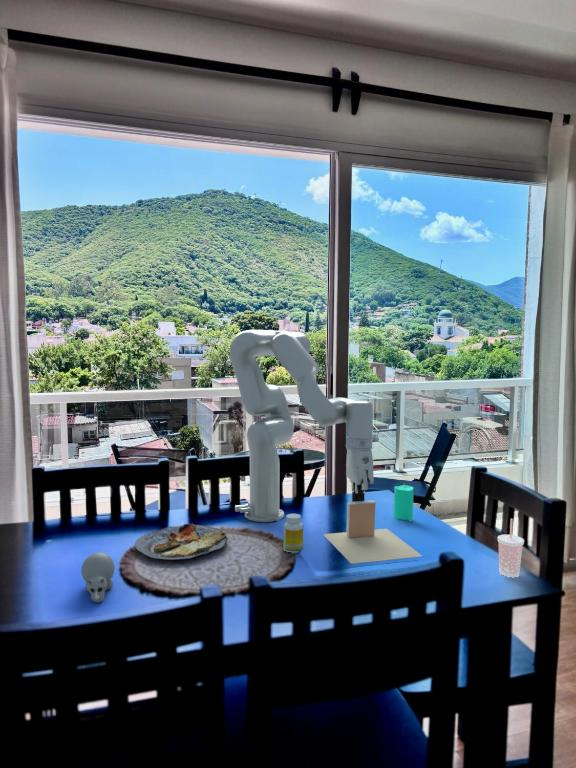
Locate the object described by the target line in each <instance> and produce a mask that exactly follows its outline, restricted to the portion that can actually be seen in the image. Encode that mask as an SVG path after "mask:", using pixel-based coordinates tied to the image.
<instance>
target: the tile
mask: <svg viewBox="0 0 576 768" xmlns="http://www.w3.org/2000/svg"><path fill="white" fill-rule="evenodd" d="M375 526H376V501H375V500H374V499H373V500H371V499H370V500H364V501H357V502H352V501H348V502H347V504H346V529H345V530H346V531H345V532H346V536H347V537H348V538H353V537H364V536H374V530H376V529H375V528H376V527H375Z"/></svg>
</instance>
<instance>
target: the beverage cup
mask: <svg viewBox="0 0 576 768" xmlns="http://www.w3.org/2000/svg"><path fill="white" fill-rule="evenodd" d="M509 523H510V524H509V534H501V535H498V536H497V542H498V569H499V571H498V572H500V573H499V575H501V574H502V575H504V576H503V577H505V576H507V577H506V578H509V577H512V578H511V579H515V578H514V577H517V578H519V577H520V572H521V571H520V570H521V562H522V554H523V553H522V552H523V545H524V544H525V539H524V538H523V537H521V536H518V535H513V518H510V522H509ZM502 575H501V576H502Z"/></svg>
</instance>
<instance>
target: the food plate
mask: <svg viewBox="0 0 576 768" xmlns="http://www.w3.org/2000/svg"><path fill="white" fill-rule="evenodd" d="M228 539H229V538H228V537H227V533H226V532H223V531H222V530H220V529H218V528H216V527H212V526H209V525H207V526H206V525H200V524H194V523H193V522H192V523H190V524H189V523H184V524H182V525H181V524H180V525H178V526H177V525H175V526H172V525H171V526H168V527H164V528H161V529H157V530H153V531H150V532H148V533H144V534H142V535H141V536H139V537H138V538H137V540H136V541H135V543H134V547H135V549H136V550H137V551H138V552H140V553H142V554H143V555H145V556H147V557H150V558H153V559H158V560H160V559H162V560H168V561H173V560H186V559H193V558H194V557H198V556H201V555H206V554H209V553H210V552H211V553H212V552H214V551H216V550H219V549H220V550H221V549H222V548H223V547H225V546H226V545H227V542H228ZM152 548H153V552H152ZM158 554H159V555H158Z"/></svg>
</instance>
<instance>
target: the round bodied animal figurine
mask: <svg viewBox="0 0 576 768" xmlns="http://www.w3.org/2000/svg"><path fill="white" fill-rule="evenodd" d="M115 568H116V567H115V562H114V560H113V559H112V557H111V556H110V555H109V554H107V553H105V552H95V553H92V554H90V555H88V556H87V557H86V558H85V560H84V561H83V563H82V565H81V570H80V573H81V576H82V578H83V580H84V581H85V582H86V583H85V589H86V591H88V593H89V594H90V595H91V596H90V597H91V600H92V602H94V603H96V604H97V603H98V604H99V603H101V602H102V601H104V599H105V593H106V591H109V590H111V589H112V588H113V580H112V578H113V577H114V573H115Z"/></svg>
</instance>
